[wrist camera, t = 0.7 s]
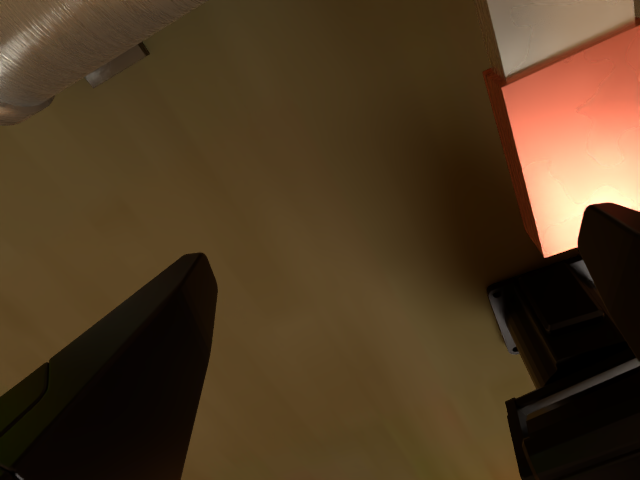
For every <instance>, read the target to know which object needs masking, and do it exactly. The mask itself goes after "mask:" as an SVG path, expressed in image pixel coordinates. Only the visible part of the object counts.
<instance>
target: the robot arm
mask: <svg viewBox="0 0 640 480" xmlns="http://www.w3.org/2000/svg"><path fill="white" fill-rule="evenodd" d="M577 245H578V250H579V253H580V256H577V257H574V258H571V259H568V260H565V261H562V262H559V263H556V264H553V265H550V266H547V267H544V268H541V269H538V270H535V271H532V272H529V273H526V274H523V275H520V276H517V277H514V278H511V279H508V280H505V281H502V282H499V283H496V284H493V285H491V286H489V287H488V288H487V295H488V298H489V301H490V303H491V306H492V309H493V311H494V314H495V317H496V320H497V322H498V325H499V328H500V330H501V333H502V336H503V338H504V341H505V344H506V347H507V349H508V351H509V353H511V354H519V353H520V356H521V358H522V360H523V362H524V364H525V366H526V368H527V370H528V372H529V375H530V377H531V379H532V381H533V383H534V385H535V387H536V390H534V391H532V392H530V393H527V394H525V395H523V396H521V397H519V398H512V399H510V400H508V401H506V402H505V404H506V408H507V413H508V416H507V418H508V423H509V428H510V432H511V437H512V441H513V446H514V450H515V455H516V459H517V464H518V468H519V473H520V476H521V479H522V480H640V211H637V210H634V209H630V208H627V207H624V206H621V205H618V204H615V203H612V202H606V203H598V204H591V205H589V206H587V207H586V208H585V210H584V213H583V217H582V221H581V226H580V230H579V235H578V240H577ZM495 292H497V293H495ZM217 293H218V288H217V282H216V279H215V277H214V274H213V271H212V269H211V266H210V264H209V261H208V259H207V257H206V255H205V254H204V253H192V254H186V255H183V256H182V257H181V258H179V259H178V260H177V261H176V262H174V263H173V264H172V265H170V266H169V267H168V268H167V269H165V270H164V271H163V272H161V273H160V274H159V275H158V276H156V277H155V278H154V279H152V280H151V281H150V282H149V283H147V284H146V285H145V286H143V287H142V288H141V289H140V290H138V291H137V292H136V293H134V294H133V295H132V296H131V297H129V298H128V299H127V300H125V301H124V302H123V303H122V304H120V305H119V306H118V307H116V308H115V309H114V310H112V311H111V312H110V313H109V314H107V315H106V316H105V317H103V318H102V319H101V320H100V321H98V322H97V323H96V324H94V325H93V326H92V327H91V328H89V329H88V330H87V331H85V332H84V333H83V334H82V335H80V336H79V337H78V338H76V339H75V340H74V341H73V342H71V343H70V344H69V345H67V346H66V347H65V348H64V349H62V350H61V351H60V352H58V353H57V354H56V355H55V356H53V357H52V358H51V359H50V360H49V363H48V362H46V363H44V364H43V365H42V366H40V367H39V368H38V369H36V370H35V371H34V372H33V373H31V374H30V375H29V376H27V377H26V378H25V379H24V380H22V381H21V382H20V383H18V384H17V385H16V386H14V387H13V388H12V389H10V390H9V391H8V392H6V393H5V394H4V395H2V396H1V397H0V480H181V476H182V472H183V467H184V463H185V459H186V455H187V451H188V446H189V442H190V438H191V434H192V430H193V425H194V421H195V417H196V413H197V409H198V404H199V400H200V396H201V392H202V388H203V384H204V379H205V375H206V371H207V367H208V362H209V358H210V352H211V345H212V337H213V328H214V320H215V311H216V302H217Z"/></svg>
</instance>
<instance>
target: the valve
mask: <svg viewBox="0 0 640 480" xmlns="http://www.w3.org/2000/svg"><path fill="white" fill-rule="evenodd" d="M207 1H208V0H0V125H14V124H18V123H21V122H23V121H25V120H26V119H28V118H30V117H31V116H33V115H35V114H36V113H38V112H40V111H41V110H43V109H44V108H46V107H47V106H49V105H50V103H51V102H52V101H53V99H54V96H55V95H56V94H58V93H59V92H61V91H62V90H64V89H66V88H67V87H69V86H71V85H72V84H74V83H75V82H77V81H79V80H80V79H82V78H84V77H85V78H86V80H87V81H88V82H89V83H90V85H91V86H92V87H93V88H94V87H96V86H98V85H99V84H101V83H103V82H104V81H106V80H108V79H109V78H111V77H113V76H114V75H116V74H118V73H119V72H121V71H123V70H124V69H126V68H128V67H129V66H131V65H133V64H134V63H136V62H137V61H139V60H141V59H142V58H144V57H146V56H147V55H149V54H150V53H149V52H148V50H147V49H146V48H145V46H144V45H143V43H142V41H143V40H145V39H147V38H148V37H150V36H152V35H153V34H155V33H156V32H158V31H160V30H161V29H163V28H164V27H166V26H168V25H169V24H171V23H173V22H174V21H176V20H177V19H179V18H181V17H182V16H184V15H186V14H187V13H189V12H190V11H192V10H194V9H195V8H197V7H198V6H200V5H202V4H203V3H205V2H207Z"/></svg>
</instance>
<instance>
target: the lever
mask: <svg viewBox="0 0 640 480" xmlns="http://www.w3.org/2000/svg"><path fill="white" fill-rule="evenodd" d="M473 1H474V5H475V9H476V12H477V16H478V20H479V24H480V28H481V32H482V36H483V39H484V43H485V47H486V51H487V55H488V59H489V63H490V66H491V68H490V69H487V70H485V71H483V72H482V73H483V77H484V81H485V84H486V88H487V92H488V95H489V99H490V103H491V106H492V110H493V114H494V117H495V121H496V125H497V128H498V132H499V136H500V139H501V143H502V147H503V151H504V154H505V158H506V162H507V165H508V169H509V173H510V176H511V180H512V184H513V187H514V191H515V195H516V198H517V202H518V206H519V209H520V213H521V217H522V220H523V224H524V228H525V231H526V232H527V234H528V235H529V237H530V238H531V240H532V241H533V242H534V244H535V245H536V247H537V248H538V250H539V251H540V253H541V254H542V255H543V257H544V258H546V257H549V256H552V255H555V254H558V253H561V252H564V251H567V250H570V249H573V248H576V247H578V245H577V240H578V235H579V230H580V226H581V221H582V217H583V213H584V210H585V208H586V207H587V206H589V205H591V204H598V203H606V202H612V203H615V204H618V205H621V206H624V207H627V208H630V209H634V210H637V211H640V18H637V17H635V14H634V0H473Z"/></svg>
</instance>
